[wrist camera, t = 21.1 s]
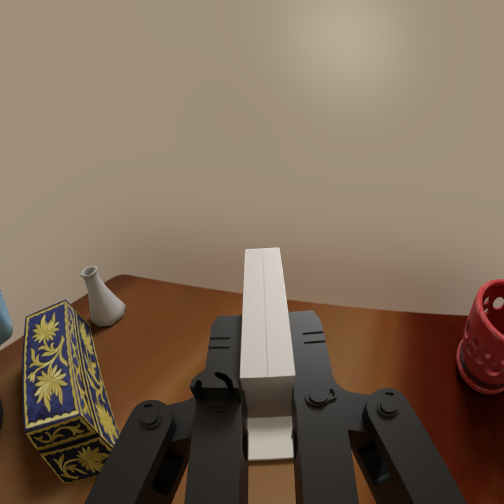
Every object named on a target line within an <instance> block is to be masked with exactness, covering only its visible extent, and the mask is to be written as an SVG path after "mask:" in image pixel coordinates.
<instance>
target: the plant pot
mask: <svg viewBox="0 0 504 504" xmlns="http://www.w3.org/2000/svg"><path fill="white" fill-rule="evenodd" d="M487 297H489V299H488V300H487V301H486V302H484V301H485V299H486V298H487ZM498 297H502V298H503V299H504V279H498V280H492V281H489V282H487V283H486V284H484V285H483V286H482V287H481V288H480V289H479V291H478V293H477V295H476V298H475V300H474V302H473V305H472V308H471V311H470V313H469V316H468V319H467V322H466V326H465V331H464V336H463V340H462V341H461V342H460V344H459V346H458V349H457V355H456V361H457V367H458V370H459V373H460V375H461V377H462V378H463V380H464V381H465V382H466V383H467V384H468V385H469V386H470V387H471V388H472V389H474V390H475V391H477V392H480V393H483V394H497V393H500V392H502V391H504V304H503V305H502V306H501V307H500V308H495V307H493V302H494V300H495V299H496V298H498ZM487 308H488V310H487V312H486V313H485V312H484V311H485V309H487Z"/></svg>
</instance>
